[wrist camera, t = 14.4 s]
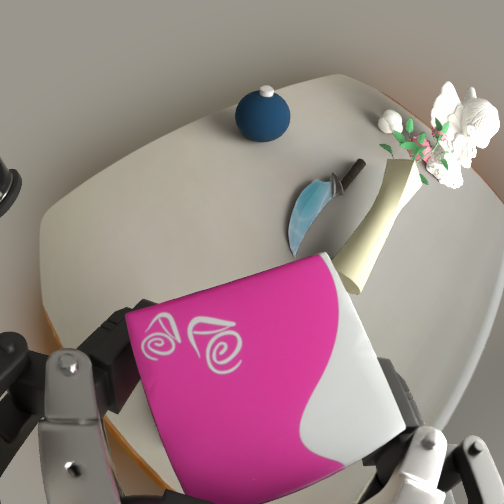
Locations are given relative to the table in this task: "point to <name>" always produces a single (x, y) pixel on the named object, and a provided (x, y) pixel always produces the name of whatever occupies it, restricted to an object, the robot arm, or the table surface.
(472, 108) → the cherub figurine
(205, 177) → the table surface
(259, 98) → the christmas ornament
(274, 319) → the supplement box
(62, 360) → the robot arm
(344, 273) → the flower vase
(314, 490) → the table surface
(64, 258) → the table surface
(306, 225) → the knife
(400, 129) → the microfossil shell
